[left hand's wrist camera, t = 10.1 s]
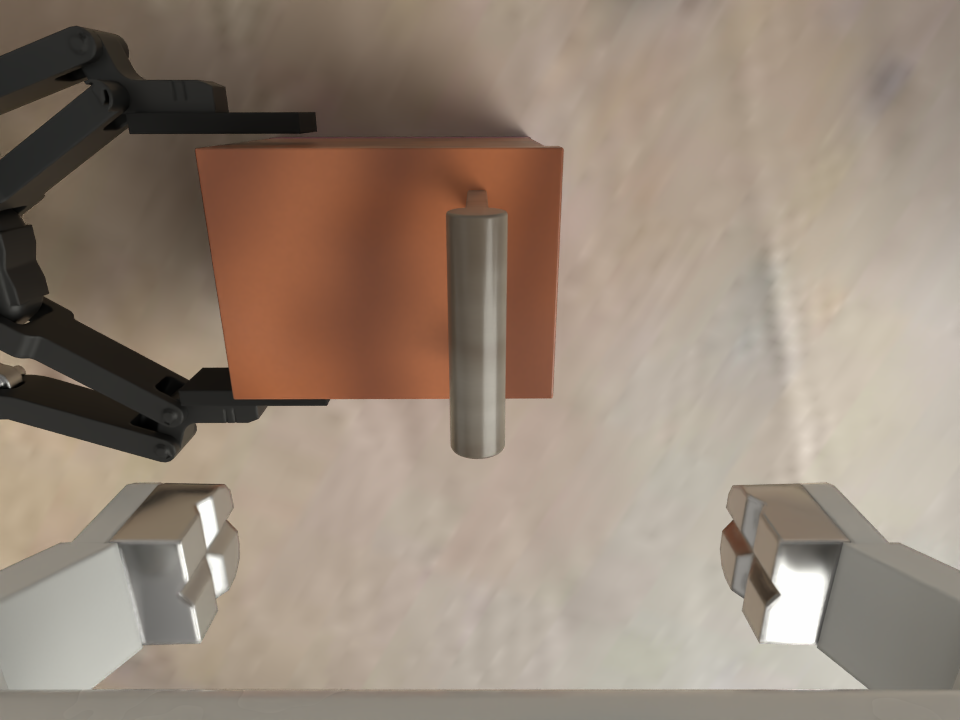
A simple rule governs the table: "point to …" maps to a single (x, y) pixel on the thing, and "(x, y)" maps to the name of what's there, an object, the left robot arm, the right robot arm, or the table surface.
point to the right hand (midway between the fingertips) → (321, 264)
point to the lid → (389, 275)
